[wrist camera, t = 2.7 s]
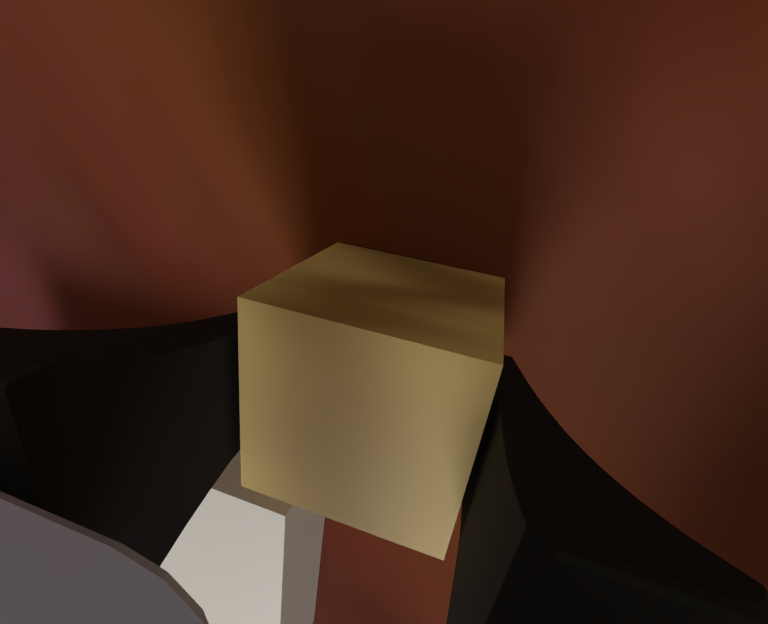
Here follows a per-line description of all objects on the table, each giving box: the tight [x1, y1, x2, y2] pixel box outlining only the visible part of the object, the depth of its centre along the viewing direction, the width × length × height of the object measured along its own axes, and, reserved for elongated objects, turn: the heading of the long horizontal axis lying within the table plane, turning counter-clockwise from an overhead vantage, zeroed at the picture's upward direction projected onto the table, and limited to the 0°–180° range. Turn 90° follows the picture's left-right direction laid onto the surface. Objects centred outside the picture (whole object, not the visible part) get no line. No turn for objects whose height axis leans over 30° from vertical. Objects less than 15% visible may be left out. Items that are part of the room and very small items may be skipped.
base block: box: [160, 450, 325, 624], centre depth 17 cm, size 12×12×4 cm
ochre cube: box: [237, 242, 505, 560], centre depth 10 cm, size 5×5×5 cm
